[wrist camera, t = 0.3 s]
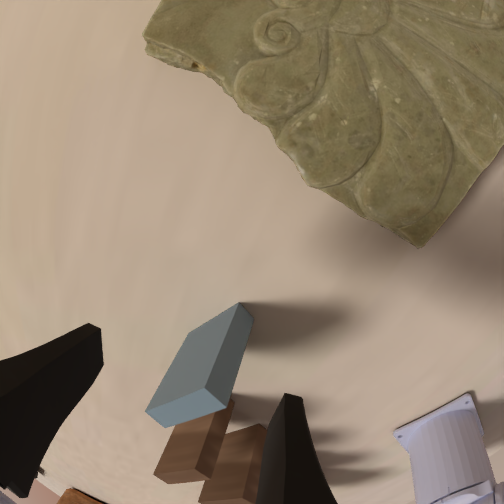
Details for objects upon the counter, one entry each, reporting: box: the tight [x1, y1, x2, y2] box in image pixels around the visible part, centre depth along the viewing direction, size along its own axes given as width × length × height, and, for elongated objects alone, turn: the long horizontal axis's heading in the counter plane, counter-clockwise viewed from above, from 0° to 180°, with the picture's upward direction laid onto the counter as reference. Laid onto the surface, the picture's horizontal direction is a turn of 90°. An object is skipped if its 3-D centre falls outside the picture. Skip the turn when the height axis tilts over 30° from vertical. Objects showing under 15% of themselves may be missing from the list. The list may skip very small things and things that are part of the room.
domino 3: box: [198, 424, 268, 504], centre depth 23 cm, size 2×5×8 cm, turn 129°
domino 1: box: [145, 303, 254, 428], centre depth 19 cm, size 2×5×8 cm, turn 129°
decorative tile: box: [142, 0, 504, 249], centre depth 12 cm, size 19×20×4 cm
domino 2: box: [153, 399, 235, 484], centre depth 22 cm, size 2×5×8 cm, turn 129°
